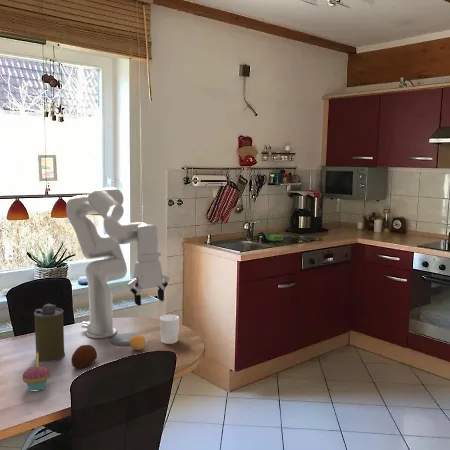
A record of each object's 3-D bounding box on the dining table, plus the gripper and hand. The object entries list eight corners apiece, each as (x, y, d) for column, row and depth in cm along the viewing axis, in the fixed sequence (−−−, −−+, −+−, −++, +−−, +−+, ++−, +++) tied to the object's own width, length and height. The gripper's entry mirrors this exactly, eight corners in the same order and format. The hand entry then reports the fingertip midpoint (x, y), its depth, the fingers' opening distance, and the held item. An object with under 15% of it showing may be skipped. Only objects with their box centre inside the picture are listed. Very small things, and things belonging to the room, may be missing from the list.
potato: (102, 360, 186) (102, 340, 185) (86, 373, 175) (85, 352, 174) (84, 358, 188) (83, 338, 187) (66, 371, 178) (66, 349, 176)
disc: (103, 344, 202) (103, 343, 202) (119, 332, 216) (119, 331, 216) (135, 347, 199) (135, 347, 199) (149, 335, 212) (149, 335, 212)
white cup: (180, 337, 210) (180, 314, 209) (177, 345, 202) (177, 321, 201) (162, 337, 211) (162, 314, 209) (157, 344, 203) (157, 320, 202)
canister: (70, 353, 193) (69, 302, 190) (53, 363, 183) (51, 310, 180) (47, 349, 197) (45, 299, 194) (28, 359, 187) (26, 307, 184)
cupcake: (27, 382, 168) (26, 348, 166) (53, 382, 169) (52, 347, 167) (19, 395, 160) (17, 359, 158) (47, 394, 160) (45, 358, 159)
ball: (127, 351, 195) (127, 336, 194) (133, 345, 201) (133, 331, 200) (141, 353, 194) (141, 338, 193) (147, 347, 199) (147, 333, 199)
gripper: (162, 253, 195) (164, 296, 197) (122, 259, 185) (124, 304, 187) (173, 256, 190) (174, 300, 192) (131, 262, 179) (133, 308, 181)
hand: (149, 302), depth 189 cm, fingers open, 9 cm apart
